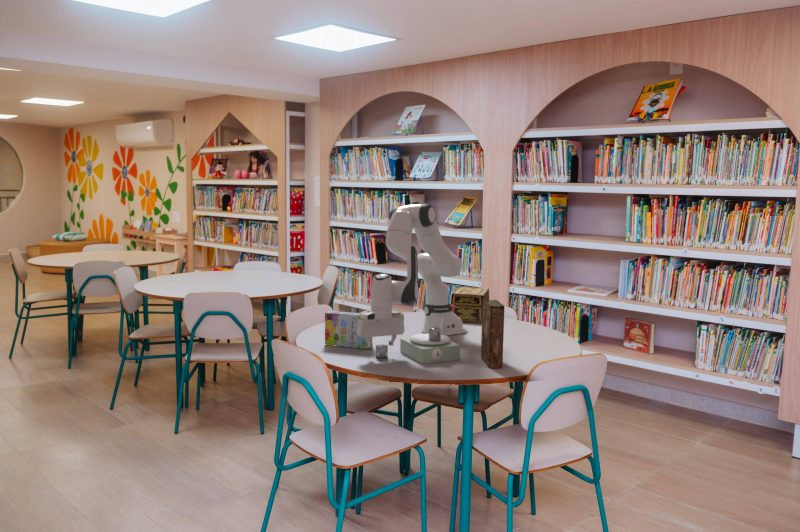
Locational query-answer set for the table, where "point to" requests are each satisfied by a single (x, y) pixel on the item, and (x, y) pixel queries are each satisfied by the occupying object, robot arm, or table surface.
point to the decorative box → (469, 303)
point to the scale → (429, 349)
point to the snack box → (343, 330)
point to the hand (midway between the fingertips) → (380, 346)
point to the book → (492, 333)
